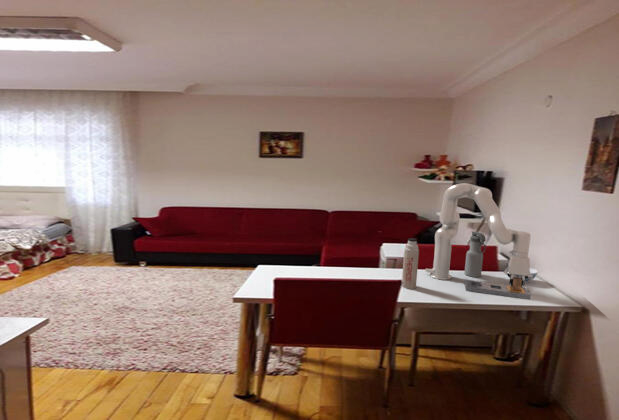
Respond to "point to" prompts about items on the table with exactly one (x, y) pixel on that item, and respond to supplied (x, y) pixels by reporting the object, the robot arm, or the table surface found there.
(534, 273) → the chinaware
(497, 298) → the table surface
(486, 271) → the table surface
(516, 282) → the peg
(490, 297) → the table surface
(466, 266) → the water bottle
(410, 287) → the thermos bottle
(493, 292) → the gray peg board
